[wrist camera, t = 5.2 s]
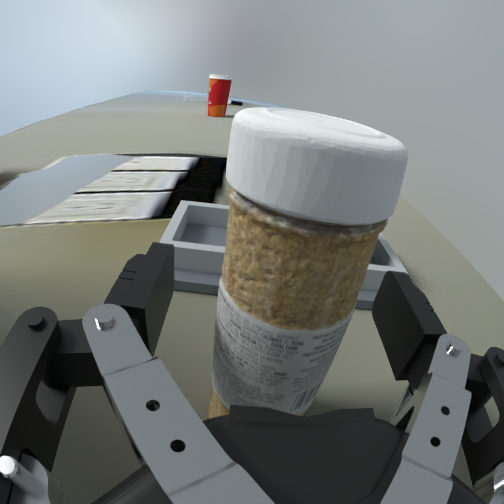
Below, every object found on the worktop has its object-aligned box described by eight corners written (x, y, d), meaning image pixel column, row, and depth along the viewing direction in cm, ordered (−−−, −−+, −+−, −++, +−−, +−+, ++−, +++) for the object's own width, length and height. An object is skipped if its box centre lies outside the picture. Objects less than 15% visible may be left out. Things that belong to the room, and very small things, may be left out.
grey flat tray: (152, 286, 22) (150, 217, 19) (182, 219, 32) (185, 167, 29) (408, 311, 23) (434, 254, 21) (370, 243, 33) (384, 196, 30)
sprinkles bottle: (263, 371, 17) (321, 110, 10) (317, 429, 14) (439, 150, 7) (189, 403, 15) (201, 100, 8) (240, 475, 12) (331, 138, 5)
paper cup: (212, 113, 104) (216, 74, 97) (231, 116, 102) (237, 76, 95) (199, 115, 98) (204, 73, 90) (220, 118, 95) (225, 75, 88)
